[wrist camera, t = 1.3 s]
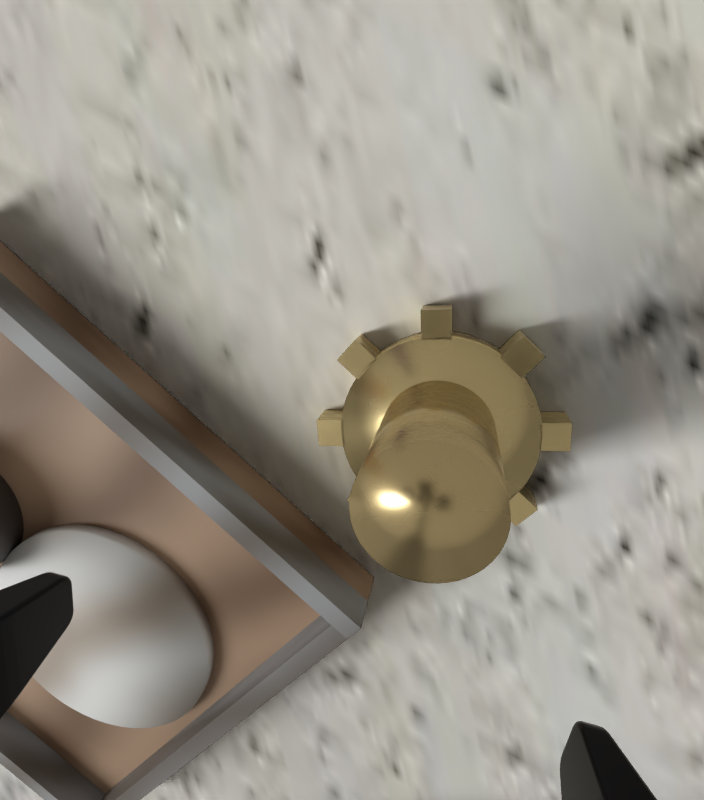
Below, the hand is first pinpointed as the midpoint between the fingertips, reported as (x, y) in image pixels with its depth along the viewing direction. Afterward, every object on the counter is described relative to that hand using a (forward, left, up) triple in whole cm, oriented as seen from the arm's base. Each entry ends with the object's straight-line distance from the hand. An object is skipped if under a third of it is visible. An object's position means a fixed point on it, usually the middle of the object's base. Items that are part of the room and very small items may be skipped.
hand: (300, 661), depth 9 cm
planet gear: (-1, -1, -11) cm, 12 cm away
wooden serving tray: (+7, +17, -11) cm, 21 cm away
